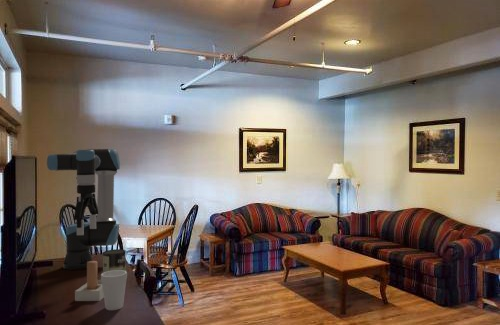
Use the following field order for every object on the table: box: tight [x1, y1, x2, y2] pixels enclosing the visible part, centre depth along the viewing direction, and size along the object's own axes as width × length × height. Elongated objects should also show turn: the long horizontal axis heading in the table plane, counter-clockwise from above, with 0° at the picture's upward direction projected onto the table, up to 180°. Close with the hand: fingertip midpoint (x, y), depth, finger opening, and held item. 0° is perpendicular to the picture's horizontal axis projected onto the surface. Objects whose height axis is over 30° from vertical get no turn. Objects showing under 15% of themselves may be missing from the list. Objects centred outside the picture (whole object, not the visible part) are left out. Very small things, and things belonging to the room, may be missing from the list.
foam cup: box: [100, 270, 128, 311], centre depth 147 cm, size 10×9×13 cm
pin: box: [86, 260, 99, 290], centre depth 158 cm, size 4×4×14 cm
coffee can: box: [102, 248, 127, 273], centre depth 180 cm, size 10×10×14 cm
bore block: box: [74, 278, 104, 302], centre depth 162 cm, size 16×10×4 cm, turn 179°
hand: (86, 231), depth 170 cm, fingers open, 13 cm apart
